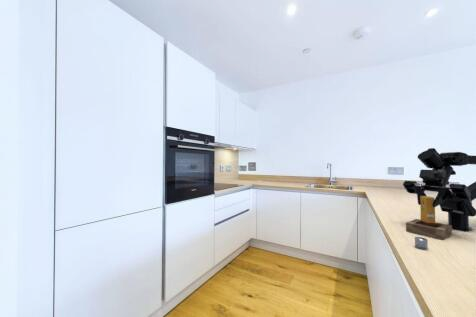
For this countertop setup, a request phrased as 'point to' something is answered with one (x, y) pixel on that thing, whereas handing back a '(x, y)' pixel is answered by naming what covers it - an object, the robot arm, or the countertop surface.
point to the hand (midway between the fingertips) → (426, 205)
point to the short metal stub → (421, 243)
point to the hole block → (429, 229)
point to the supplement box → (427, 209)
